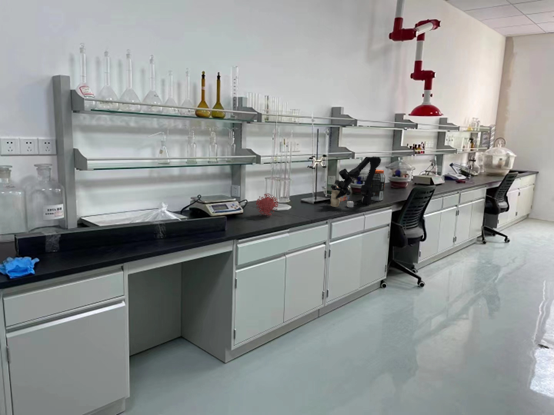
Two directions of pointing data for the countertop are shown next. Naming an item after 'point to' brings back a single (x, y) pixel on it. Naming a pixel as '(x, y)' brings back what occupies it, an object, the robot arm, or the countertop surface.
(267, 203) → the virus model
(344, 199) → the stack of blocks
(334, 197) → the beech block
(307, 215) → the countertop surface
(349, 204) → the grey cube
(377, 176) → the supplement tub
